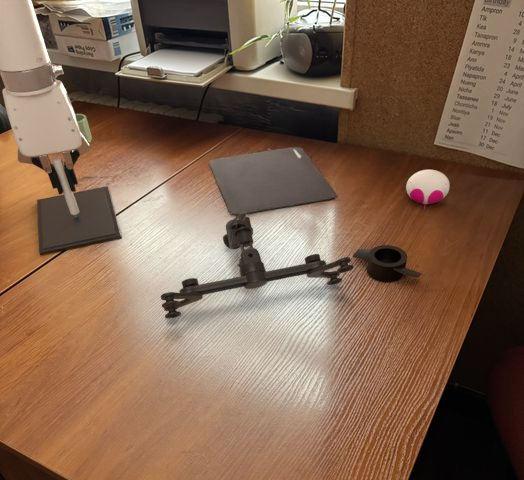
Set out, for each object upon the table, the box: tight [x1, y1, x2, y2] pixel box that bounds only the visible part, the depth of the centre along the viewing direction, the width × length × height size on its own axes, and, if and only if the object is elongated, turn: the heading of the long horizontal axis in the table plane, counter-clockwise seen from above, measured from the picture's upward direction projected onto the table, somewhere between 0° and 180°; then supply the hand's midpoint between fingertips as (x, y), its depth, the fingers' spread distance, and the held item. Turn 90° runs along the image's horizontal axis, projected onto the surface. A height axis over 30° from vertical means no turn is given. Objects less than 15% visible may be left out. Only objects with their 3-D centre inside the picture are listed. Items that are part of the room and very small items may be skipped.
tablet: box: [36, 185, 122, 257], centre depth 94 cm, size 20×14×1 cm
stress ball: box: [405, 169, 451, 210], centre depth 92 cm, size 8×8×7 cm
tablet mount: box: [160, 213, 354, 319], centre depth 76 cm, size 27×14×17 cm
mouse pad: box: [209, 146, 337, 216], centre depth 103 cm, size 25×21×1 cm
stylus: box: [51, 156, 79, 218], centre depth 90 cm, size 2×2×11 cm
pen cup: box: [75, 113, 93, 143], centre depth 119 cm, size 6×6×6 cm
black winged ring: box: [352, 244, 422, 284], centre depth 78 cm, size 8×10×3 cm
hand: (66, 189), depth 90 cm, fingers closed on stylus, 1 cm apart
